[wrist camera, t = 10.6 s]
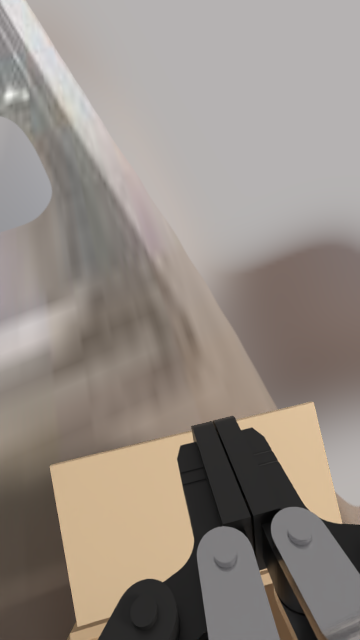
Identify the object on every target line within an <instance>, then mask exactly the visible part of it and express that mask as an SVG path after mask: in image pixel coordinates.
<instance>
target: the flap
mask: <svg viewBox="0 0 360 640" xmlns="http://www.w3.org/2000/svg"><path fill="white" fill-rule="evenodd" d="M236 421H237V423H238V425H239V427H240V429H241V430H244V429H248V428H254V429H255V430H256V431H258V432H259V433H260V434H261V435H263V436H264V437H265V439H266V441H267V442H268V444H269V446H270V447H271V449H272V452H274V454H275V456H276V458H277V459H278V462H279V463H280V464H281V466H282V468H283V470H284V471H285V473H286V475H287V476H288V478H289V480H290V482H291V483H292V485H293V487H294V488H295V490H296V492H297V494H298V495H299V497H300V499H301V500H302V502H303V503H304V505H305V506H306V507H307V508H308V509H309V510H310V511H311V512H313V513H314V514H315V515H317V516H318V517H319V518H321V519H323V520H326V521H329V522H332V523H338V524H342V520H341V516H340V512H339V508H338V504H337V499H336V495H335V491H334V487H333V482H332V478H331V474H330V470H329V466H328V461H327V458H326V453H325V449H324V444H323V440H322V436H321V431H320V427H319V423H318V419H317V415H316V410H315V406H314V403H313V402H307V403H303V404H299V405H295V406H291V407H287V408H283V409H278V410H274V411H270V412H266V413H262V414H258V415H254V416H250V417H245V418H241V419H237V420H236ZM192 442H194V441H193V435H192V431H188V432H183V433H179V434H175V435H171V436H167V437H163V438H159V439H154V440H150V441H146V442H142V443H138V444H134V445H130V446H126V447H121V448H117V449H113V450H109V451H105V452H101V453H97V454H92V455H88V456H84V457H80V458H76V459H72V460H68V461H64V462H59V463H55V464H51V466H50V471H51V477H52V483H53V488H54V494H55V500H56V506H57V512H58V517H59V523H60V529H61V535H62V540H63V546H64V552H65V558H66V564H67V569H68V575H69V581H70V587H71V592H72V598H73V604H74V610H75V616H76V621H77V627H79V626H82V625H86V624H89V623H92V622H95V621H99V620H102V619H105V618H109V617H110V616H111V615H112V613H113V611H114V609H115V607H116V606H117V604H118V602H119V600H120V599H121V597H122V595H123V594H124V593H125V592H126V590H127V589H128V588H129V587H131V586H132V585H133V584H135V583H136V582H138V581H141V580H144V579H156V580H159V581H161V582H164V581H165V580H167V579H168V578H169V577H171V576H172V575H173V574H175V573H176V572H177V571H179V570H180V569H181V568H182V567H183V566H184V565H185V564H186V562H187V561H188V559H189V557H190V555H191V553H192V550H193V546H194V536H193V532H192V527H191V523H190V518H189V514H188V509H187V505H186V500H185V496H184V492H183V487H182V482H181V477H180V472H179V467H178V462H177V457H178V453H179V449H180V445H184V444H188V443H192ZM264 570H267V568H266V569H263V570H260V572H261V571H264Z"/></svg>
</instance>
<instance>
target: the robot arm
mask: <svg viewBox="0 0 360 640" xmlns="http://www.w3.org/2000/svg"><path fill="white" fill-rule="evenodd" d="M191 429H192V435H193V441H194V442H192V443H188V444H184V445H180V449H179V453H178V457H177V462H178V467H179V472H180V477H181V482H182V487H183V492H184V496H185V500H186V505H187V509H188V514H189V518H190V523H191V527H192V532H193V536H194V546H193V550H192V553H191V555H190V557H189V559H188V561H187V562H186V564H185V565H184V566H183V567H182V568H181V569H180V570H179V571H177V572H176V573H175V574H173V575H172V576H171V577H169V578H168V579H167V580H165V581H164V582H161V581H159V580H156V579H144V580H141V581H138V582H136V583H135V584H133V585H132V586H131V587H129V588H128V589H127V590H126V592H125V593H124V594H123V595H122V597H121V599H120V600H119V602H118V604H117V606H116V607H115V609H114V611H113V613H112V615H111V616H110V618H109V620H108V622H107V624H106V625H105V627H104V629H103V631H102V633H101V635H100V636H99V638H98V640H280V638H279V635H278V631H277V628H276V625H275V621H274V618H273V615H272V611H271V608H270V604H269V601H268V598H267V594H266V591H265V588H264V584H263V581H262V578H261V574H260V570H263V569H266V568H267V570H268V572H269V575H270V577H271V580H272V582H273V585H274V596H275V600H276V603H277V605H278V607H279V609H280V612H281V614H282V616H283V618H284V620H285V623H286V625H287V627H288V629H289V631H290V634H291V636H292V638H293V640H360V525H353V524H338V523H332V522H329V521H326V520H323V519H321V518H319V517H318V516H317V515H315V514H314V513H313V512H311V511H310V510H309V509H308V508H307V507H306V506H305V505H304V503H303V502H302V500H301V499H300V497H299V495H298V494H297V492H296V490H295V488H294V487H293V485H292V483H291V482H290V480H289V478H288V476H287V475H286V473H285V471H284V470H283V468H282V466H281V464H280V463H279V462H278V459H277V458H276V456H275V454H274V452H272V449H271V447H270V446H269V444H268V442H267V441H266V439H265V437H264V436H263V435H261V434H260V433H259V432H258V431H256V430H255V429H254V428H248V429H244V430H241V429H240V427H239V425H238V423H237V421H236V419H235V417H234V416H230V417H226V418H222V419H218V420H214V421H213V423H212V421H210V422H206V423H202V424H198V425H194V426H191Z"/></svg>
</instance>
